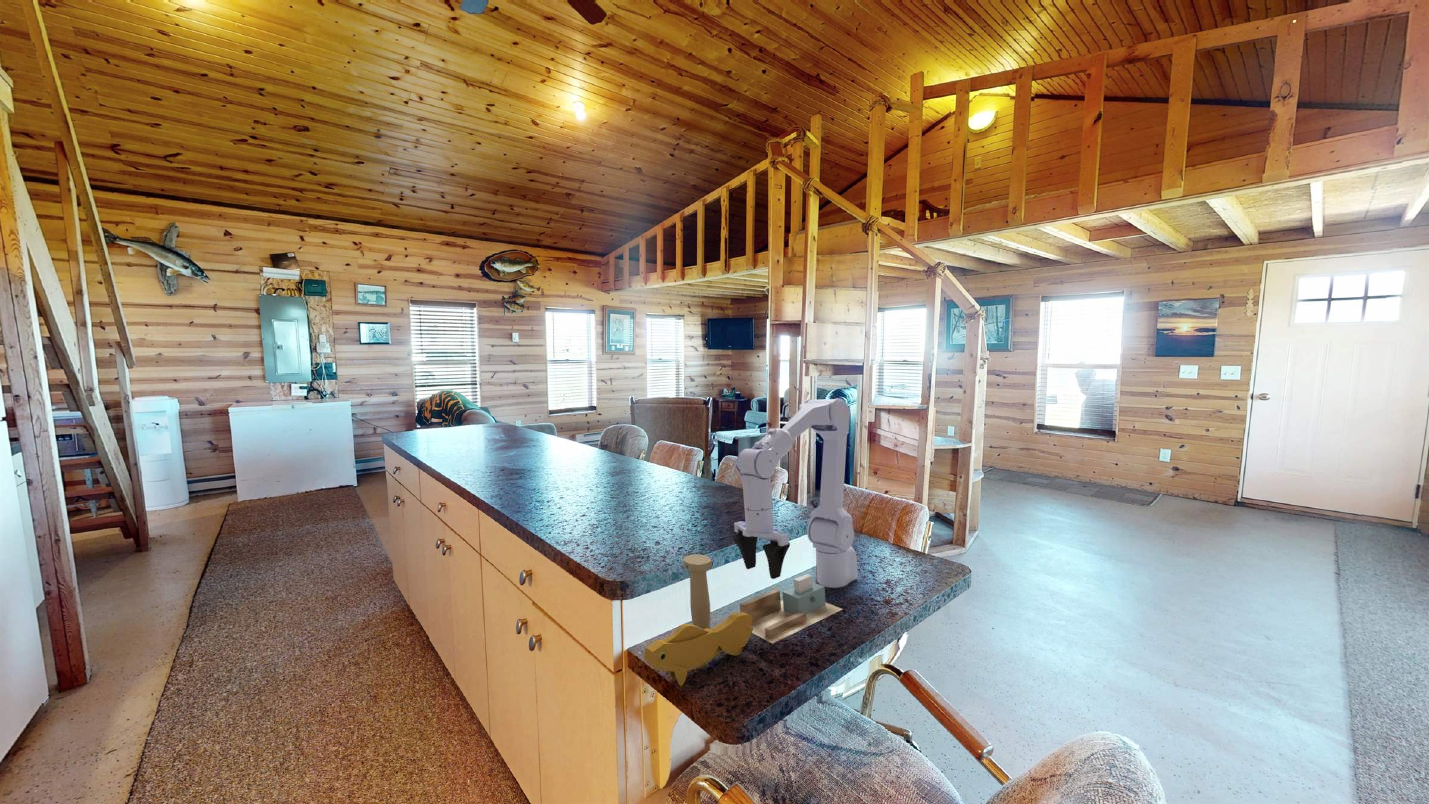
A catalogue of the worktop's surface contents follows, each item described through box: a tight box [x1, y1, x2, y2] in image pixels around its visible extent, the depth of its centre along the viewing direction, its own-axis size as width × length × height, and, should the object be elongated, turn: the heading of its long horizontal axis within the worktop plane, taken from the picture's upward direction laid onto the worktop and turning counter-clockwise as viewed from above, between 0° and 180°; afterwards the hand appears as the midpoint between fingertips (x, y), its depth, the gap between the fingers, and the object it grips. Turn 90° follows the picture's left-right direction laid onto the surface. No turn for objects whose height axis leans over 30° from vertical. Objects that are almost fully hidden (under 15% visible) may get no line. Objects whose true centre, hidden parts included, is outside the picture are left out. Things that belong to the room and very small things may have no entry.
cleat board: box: [739, 589, 843, 644], centre depth 106 cm, size 20×12×5 cm, turn 127°
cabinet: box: [781, 573, 827, 615], centre depth 109 cm, size 8×5×6 cm, turn 127°
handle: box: [682, 553, 713, 629], centre depth 103 cm, size 5×6×15 cm
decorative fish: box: [643, 611, 753, 687], centre depth 90 cm, size 22×3×10 cm, turn 127°
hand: (762, 572), depth 107 cm, fingers open, 7 cm apart
